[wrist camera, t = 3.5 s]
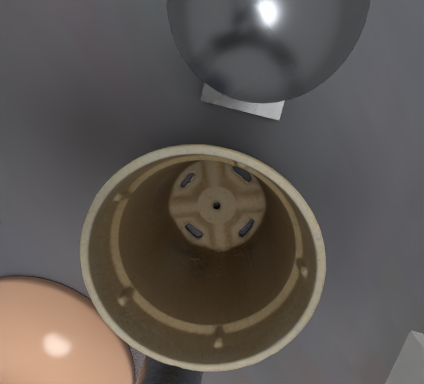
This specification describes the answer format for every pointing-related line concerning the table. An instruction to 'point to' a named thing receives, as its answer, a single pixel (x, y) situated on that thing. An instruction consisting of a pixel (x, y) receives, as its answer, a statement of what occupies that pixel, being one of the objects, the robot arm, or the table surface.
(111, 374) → the saucer
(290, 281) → the flower pot
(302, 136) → the table surface
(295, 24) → the post
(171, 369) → the post
